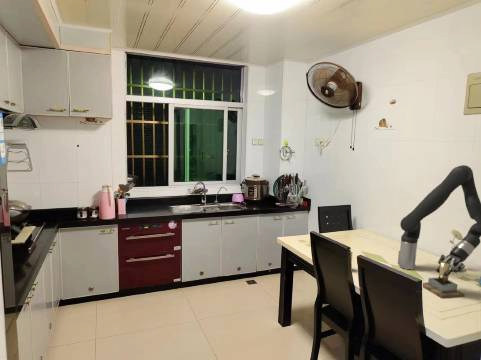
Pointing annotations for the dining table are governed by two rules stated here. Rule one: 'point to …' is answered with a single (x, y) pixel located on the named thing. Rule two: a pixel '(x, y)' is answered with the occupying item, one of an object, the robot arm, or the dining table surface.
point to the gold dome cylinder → (443, 268)
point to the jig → (442, 288)
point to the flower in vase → (456, 235)
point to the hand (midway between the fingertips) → (441, 273)
